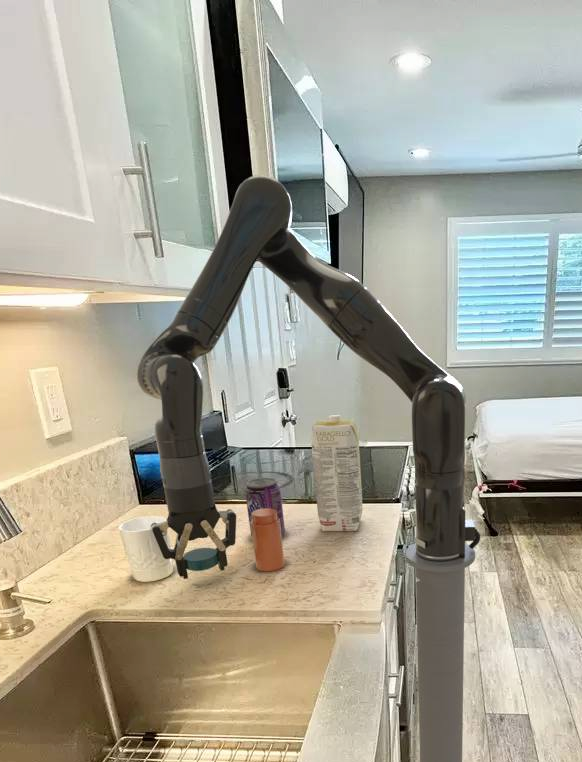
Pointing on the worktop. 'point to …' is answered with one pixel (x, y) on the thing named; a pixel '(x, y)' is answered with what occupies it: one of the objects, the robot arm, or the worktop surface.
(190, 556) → the jar lid
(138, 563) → the white cup
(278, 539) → the jam jar
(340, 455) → the juice carton
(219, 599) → the worktop surface
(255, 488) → the beverage can
